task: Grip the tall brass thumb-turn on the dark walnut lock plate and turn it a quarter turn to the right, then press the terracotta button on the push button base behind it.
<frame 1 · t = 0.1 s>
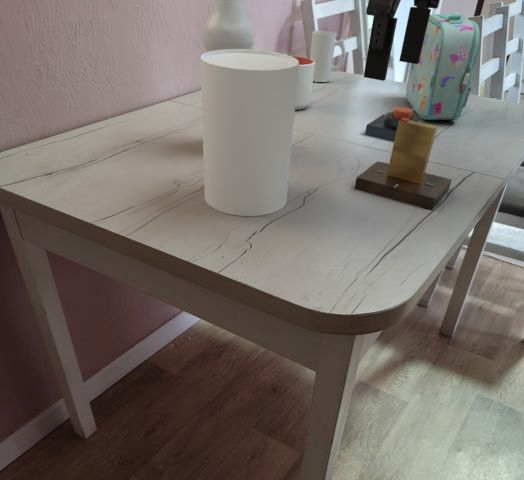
hand: (392, 70, 66), 20 cm above the table, tool pointing down, fingers open, 13 cm apart
lunch box: (429, 112, 125), on the table
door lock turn: (411, 151, 82), point 7 cm above the table, hinge at 0.0°
cup: (290, 106, 123), on the table
lock plate: (401, 189, 86), on the table
mug: (324, 81, 145), on the table
bell button: (402, 113, 106), point 4 cm above the table, slide at 0.1 cm
canister: (245, 198, 80), on the table
white bottle: (227, 147, 98), on the table
push button base: (398, 135, 109), on the table
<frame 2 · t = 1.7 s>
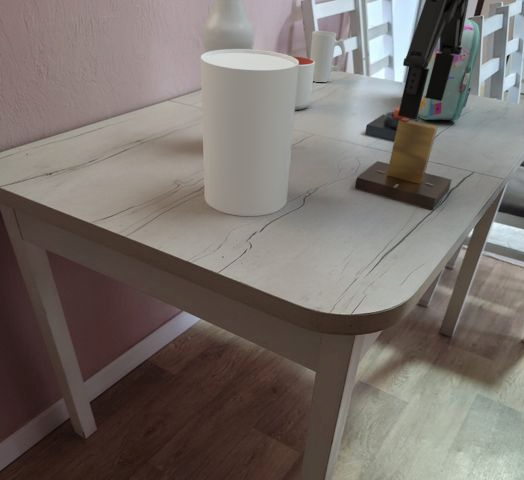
hand: (421, 107, 77), 13 cm above the table, tool pointing down, fingers open, 13 cm apart
nothing on the table moved.
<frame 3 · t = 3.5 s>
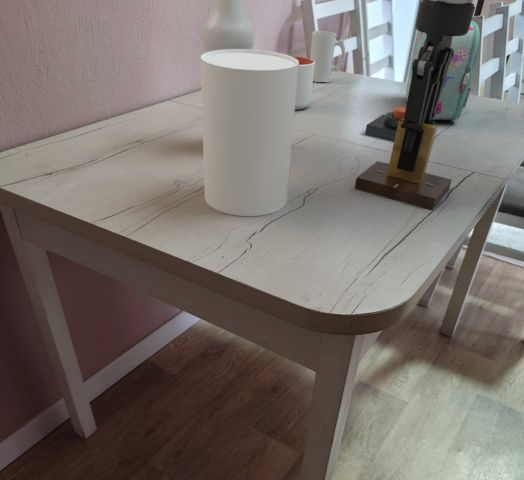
hand: (407, 167, 84), 4 cm above the table, tool pointing down, fingers closed on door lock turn, 2 cm apart
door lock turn: (411, 151, 82), point 7 cm above the table, hinge at 0.0°, touching gripper
everything else where it was.
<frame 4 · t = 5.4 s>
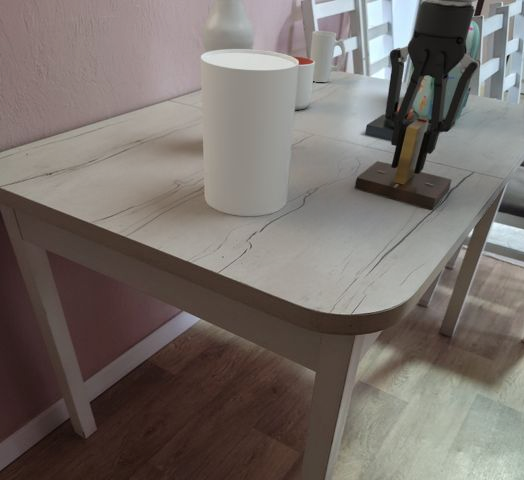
hand: (407, 168, 84), 4 cm above the table, tool pointing down, fingers open, 3 cm apart
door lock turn: (411, 151, 82), point 7 cm above the table, hinge at -89.8°
everything else where it was.
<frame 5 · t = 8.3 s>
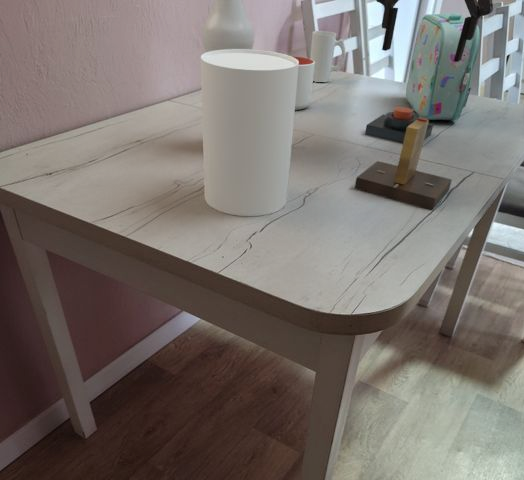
hand: (420, 55, 91), 17 cm above the table, tool pointing down, fingers open, 13 cm apart
nothing on the table moved.
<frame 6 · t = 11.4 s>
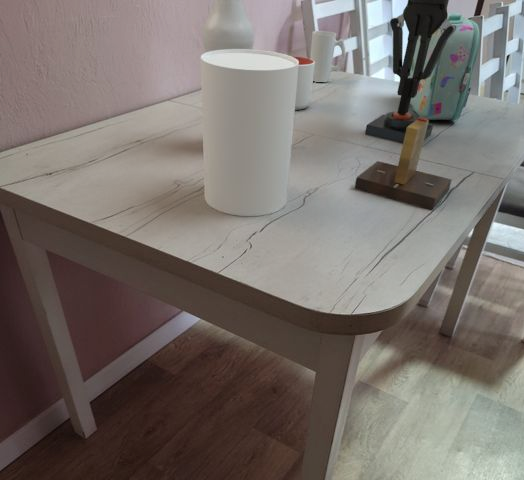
hand: (402, 112, 106), 5 cm above the table, tool pointing down, fingers closed
bell button: (401, 118, 107), point 4 cm above the table, slide at -0.8 cm, touching gripper
everything else where it was.
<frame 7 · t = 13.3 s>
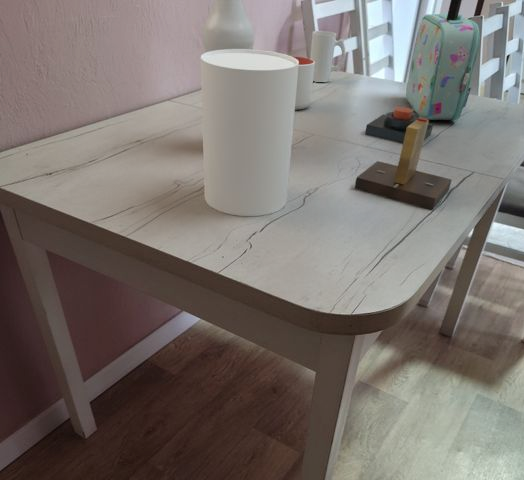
hand: (451, 19, 98), 22 cm above the table, tool pointing down, fingers closed
bell button: (402, 113, 106), point 4 cm above the table, slide at 0.1 cm
everything else where it was.
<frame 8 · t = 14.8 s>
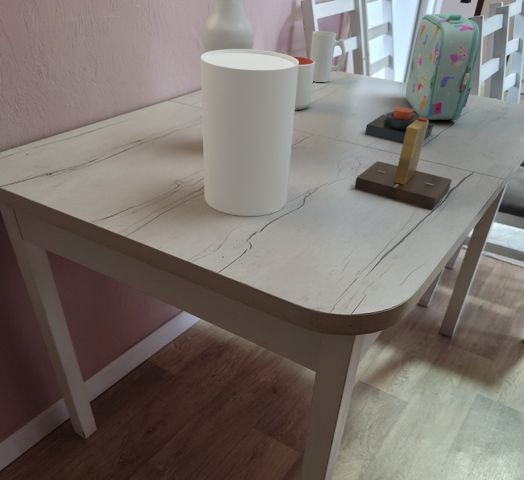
hand: (465, 2, 97), 24 cm above the table, tool pointing down, fingers closed
nothing on the table moved.
at the end: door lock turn at -90° (first picture: +0°); bell button pushed in 1.0 cm at the most during the clip, back to where it started at the end; bell button slide at 0.1 cm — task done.
